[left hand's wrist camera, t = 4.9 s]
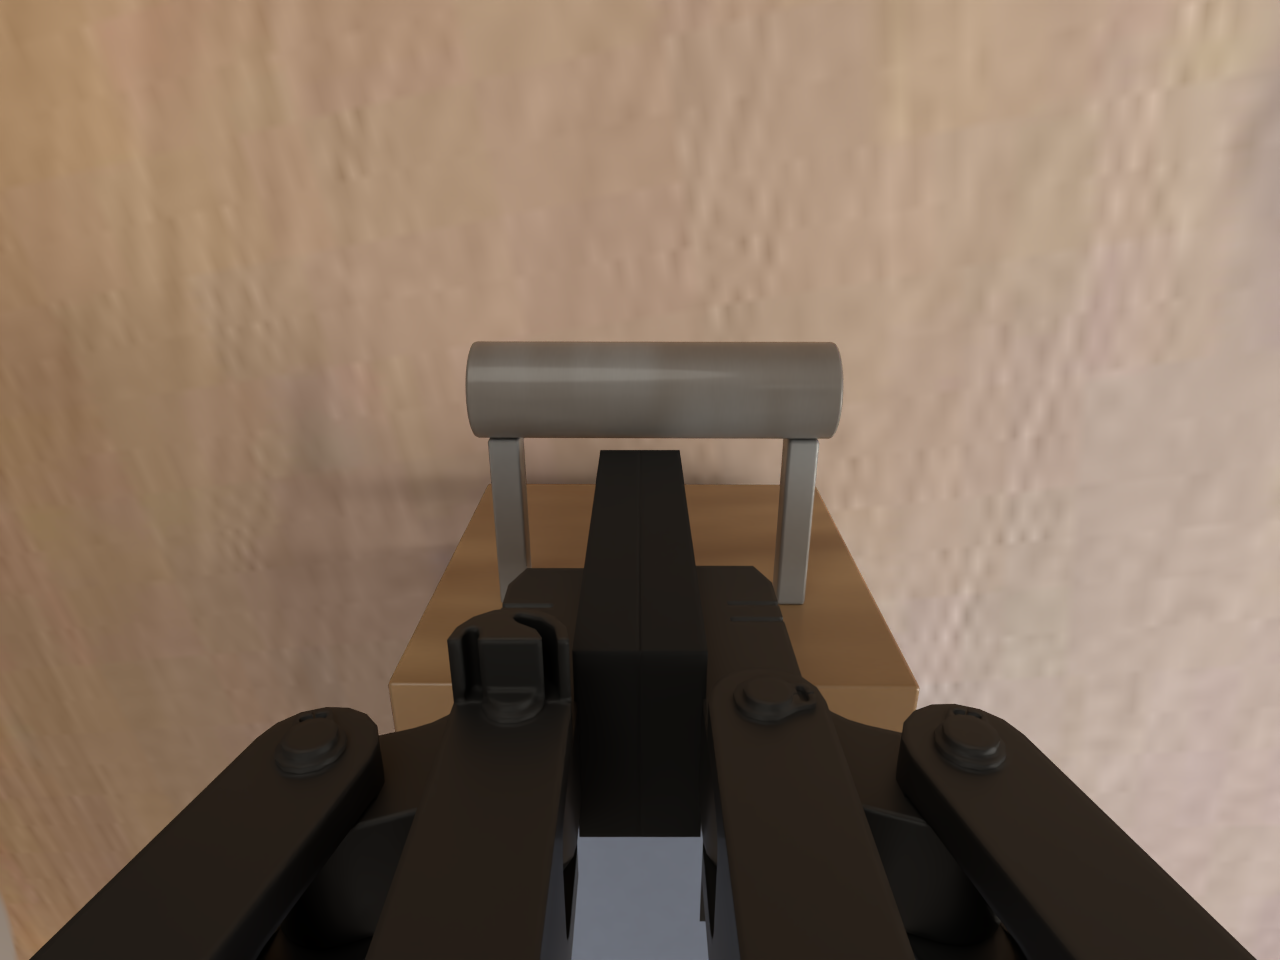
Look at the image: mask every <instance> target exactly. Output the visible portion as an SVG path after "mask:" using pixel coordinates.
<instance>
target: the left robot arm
mask: <svg viewBox="0 0 1280 960" xmlns="http://www.w3.org/2000/svg"><path fill="white" fill-rule="evenodd" d="M447 645H448V654H449V663H450V672H451V682H452V691H453V700H454V703H453V706H452V709H451V712H450V714H449V715H447V716H445V717H443V718H440V719H438V720H436V721H434V722H432V723H429V724H425V725H422V726H419V727H415V728H411V729H407V730H402V731H398V732H393V733H389V734H384V735H380V736H379V735H378V729H377V725H376V724H375V723H374V722H373V721H372V720H371V718H370V717H369V716H368V715H367V714H365V713H362V712H359V711H356V710H354V709H351V708H337V707H325V708H320V709H315V710H310V711H306V712H301V713H299V714H296V715H294V716H292V717H290V718H287V719H285V720H283V721H281V722H278V723H276V724H275V725H274V726H272V727H271V728H270V729H268V730H267V731H266V732H264V733H263V734H262V735H260V736H259V737H258V738H256V739H255V740H254V741H253V742H252V743H251V744H250V745H249V746H248V747H247V748H246V749H245V750H244V751H243V752H242V753H241V754H240V755H239V756H238V757H237V758H236V759H235V760H234V761H233V762H232V763H231V764H230V765H229V766H228V767H227V768H226V769H225V770H224V771H223V772H222V773H220V774H219V775H218V776H217V777H216V778H215V779H214V780H213V781H212V782H211V783H210V784H209V785H208V786H207V787H206V788H205V789H204V790H203V791H202V792H201V793H200V794H199V795H198V796H197V797H196V798H195V799H194V800H193V801H192V802H191V803H190V804H189V805H188V806H187V807H186V808H185V809H184V810H182V811H181V812H180V813H179V814H178V815H177V816H176V817H175V818H174V819H173V820H172V821H171V822H170V823H169V824H168V825H167V826H166V827H165V828H164V829H163V830H162V831H161V832H160V833H159V834H158V835H157V836H156V837H155V838H154V839H153V840H152V841H151V842H150V843H149V844H148V845H147V846H146V847H144V848H143V849H142V850H141V851H140V852H139V853H138V854H137V855H136V856H135V857H134V858H133V859H132V860H131V861H130V862H129V863H128V864H127V865H126V866H125V867H124V868H123V869H122V870H121V871H120V872H119V873H118V874H117V875H116V876H115V877H114V878H113V879H112V880H111V881H110V882H109V883H108V884H106V885H105V886H104V887H103V888H102V889H101V890H100V891H99V892H98V893H97V894H96V895H95V896H94V897H93V898H92V899H91V900H90V901H89V902H88V903H87V904H86V905H85V906H84V907H83V908H82V909H81V910H80V911H79V912H78V913H77V914H76V915H75V916H74V917H73V918H72V919H71V920H70V921H68V922H67V923H66V924H65V925H64V926H63V927H62V928H61V929H60V930H59V931H58V932H57V933H56V934H55V935H54V936H53V937H52V938H51V939H50V940H49V941H48V942H47V943H46V944H45V945H44V946H43V947H42V948H41V949H40V950H39V951H38V952H37V953H36V954H35V955H34V956H33V957H31V958H30V959H29V960H571V959H572V947H573V935H574V923H575V911H576V899H577V887H578V850H577V840H578V829H579V837H701V825H702V836H703V850H702V875H701V899H700V921H705V922H706V934H707V946H708V958H709V960H1256V959H1255V958H1254V957H1253V956H1252V955H1251V954H1250V953H1249V952H1248V951H1247V950H1246V949H1245V948H1244V947H1243V946H1242V945H1241V944H1240V943H1239V942H1238V941H1237V940H1236V939H1235V938H1234V937H1233V936H1232V935H1231V934H1230V933H1229V932H1227V931H1226V930H1225V929H1224V928H1223V927H1222V926H1221V925H1220V924H1219V923H1218V922H1217V921H1216V920H1215V919H1214V918H1213V917H1212V916H1211V915H1210V914H1209V913H1208V912H1207V911H1206V910H1205V909H1204V908H1203V907H1202V906H1201V905H1200V904H1199V903H1197V902H1196V901H1195V900H1194V899H1193V898H1192V897H1191V896H1190V895H1189V894H1188V893H1187V892H1186V891H1185V890H1184V889H1183V888H1182V887H1181V886H1180V885H1179V884H1178V883H1177V882H1176V881H1175V880H1174V879H1173V878H1172V877H1171V876H1170V875H1169V874H1167V873H1166V872H1165V871H1164V870H1163V869H1162V868H1161V867H1160V866H1159V865H1158V864H1157V863H1156V862H1155V861H1154V860H1153V859H1152V858H1151V857H1150V856H1149V855H1148V854H1147V853H1146V852H1145V851H1144V850H1143V849H1142V848H1141V847H1140V846H1139V845H1137V844H1136V843H1135V842H1134V841H1133V840H1132V839H1131V838H1130V837H1129V836H1128V835H1127V834H1126V833H1125V832H1124V831H1123V830H1122V829H1121V828H1120V827H1119V826H1118V825H1117V824H1116V823H1115V822H1114V821H1113V820H1112V819H1111V818H1110V817H1109V816H1107V815H1106V814H1105V813H1104V812H1103V811H1102V810H1101V809H1100V808H1099V807H1098V806H1097V805H1096V804H1095V803H1094V802H1093V801H1092V800H1091V799H1090V798H1089V797H1088V796H1087V795H1086V794H1085V793H1084V792H1083V791H1082V790H1081V789H1080V788H1079V787H1077V786H1076V785H1075V784H1074V783H1073V782H1072V781H1071V780H1070V779H1069V778H1068V777H1067V776H1066V775H1065V774H1064V773H1063V772H1062V771H1061V770H1060V769H1059V768H1058V767H1057V766H1056V765H1055V764H1054V763H1053V762H1052V761H1051V760H1050V759H1049V758H1047V757H1046V756H1045V755H1044V754H1043V753H1042V752H1041V751H1040V750H1039V749H1038V748H1037V747H1036V746H1035V745H1034V744H1033V743H1032V742H1031V741H1030V740H1029V739H1028V738H1027V737H1026V736H1025V735H1024V734H1022V733H1021V732H1020V731H1018V730H1017V729H1016V728H1014V727H1013V726H1011V725H1010V724H1009V723H1007V722H1006V721H1005V720H1003V719H1001V718H999V717H996V716H994V715H992V714H989V713H987V712H985V711H982V710H980V709H976V708H971V707H967V706H962V705H957V704H935V705H929V706H926V707H924V708H921V709H918V710H915V711H913V712H912V714H911V715H910V716H909V717H908V718H907V719H906V720H905V721H904V722H903V729H902V733H901V732H896V731H892V730H887V729H883V728H878V727H874V726H869V725H865V724H862V723H858V722H855V721H852V720H848V719H846V718H844V717H842V716H840V715H838V714H836V713H834V712H832V711H830V710H829V708H828V705H827V702H826V700H825V699H824V697H823V696H822V694H821V693H820V691H819V690H818V688H817V687H816V686H814V685H813V684H811V683H810V682H809V681H807V680H806V679H804V678H803V677H802V675H801V672H800V669H799V666H798V663H797V660H796V657H795V654H794V650H793V647H792V644H791V641H790V638H789V635H788V632H787V628H786V625H785V622H783V616H782V613H781V610H780V607H779V605H778V600H777V597H776V594H775V591H774V588H773V585H772V582H771V581H770V580H769V579H767V578H766V577H765V576H764V575H763V574H762V573H761V572H760V571H759V570H757V569H756V568H755V567H754V566H696V564H695V557H694V549H693V542H692V535H691V528H690V521H689V514H688V507H687V500H686V493H685V486H684V479H683V471H682V464H681V457H680V450H600V457H599V464H598V472H597V479H596V486H595V493H594V500H593V507H592V514H591V521H590V528H589V535H588V542H587V549H586V557H585V564H584V568H527V569H525V570H524V571H523V572H522V573H521V574H520V575H519V576H518V577H516V578H515V579H514V580H513V581H512V582H511V583H510V584H509V585H508V588H507V591H506V594H505V597H504V600H503V603H502V608H501V609H499V610H493V611H489V612H486V613H483V614H480V615H477V616H474V617H472V618H470V619H469V620H467V621H466V622H464V623H462V624H461V625H459V626H458V627H456V629H455V630H454V631H453V633H452V634H451V635H450V636H449V638H448V639H447Z"/></svg>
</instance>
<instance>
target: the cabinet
mask: <svg viewBox="0 0 1280 960" xmlns="http://www.w3.org/2000/svg"><path fill="white" fill-rule="evenodd" d="M577 850H578V887H577V899H576V911H575V923H574V935H573V947H572V959H571V960H709V958H708V946H707V934H706V922H705V921H700V899H701V875H702V850H703V836H702V825H701V837H579V829H578V840H577Z"/></svg>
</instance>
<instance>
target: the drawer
mask: <svg viewBox="0 0 1280 960" xmlns="http://www.w3.org/2000/svg"><path fill="white" fill-rule="evenodd" d="M842 402H843V368H842V361H841V356H840V352H839V349H838V347H837V345H836V344H834V343H832V342H475V343H473V344H472V346H471V348H470V351H469V355H468V360H467V367H466V404H467V412H468V418H469V422H470V426H471V429H472V431H473V433H474V435H475V436H477V437H479V438H490V439H489V441H488V448H489V460H490V473H491V484H489V485H488V487H487V488H486V490H485V492H484V494H483V496H482V498H481V500H480V502H479V504H478V506H477V508H476V510H475V512H474V514H473V516H472V518H471V520H470V522H469V524H468V526H467V528H466V530H465V532H464V534H463V536H462V538H461V540H460V542H459V544H458V546H457V548H456V550H455V552H454V554H453V556H452V558H451V560H450V562H449V564H448V566H447V568H446V570H445V572H444V574H443V576H442V578H441V580H440V582H439V584H438V586H437V588H436V590H435V592H434V594H433V596H432V598H431V600H430V602H429V604H428V606H427V608H426V610H425V612H424V614H423V616H422V618H421V620H420V622H419V624H418V626H417V628H416V630H415V632H414V634H413V636H412V638H411V640H410V642H409V644H408V646H407V648H406V650H405V652H404V654H403V656H402V658H401V660H400V662H399V664H398V666H397V668H396V670H395V672H394V674H393V676H392V678H391V680H390V682H389V684H388V687H389V693H390V700H391V707H392V713H393V720H394V726H395V732H398V731H402V730H407V729H411V728H415V727H419V726H422V725H425V724H429V723H432V722H434V721H436V720H438V719H440V718H443V717H445V716H447V715H449V714H450V712H451V709H452V706H453V703H454V700H453V691H452V682H451V672H450V663H449V654H448V645H447V639H448V638H449V636H450V635H451V634H452V633H453V631H454V630H455V629H456V627H458V626H459V625H461V624H462V623H464V622H466V621H467V620H469V619H470V618H472V617H474V616H477V615H480V614H483V613H486V612H489V611H493V610H499V609H501V608H502V603H503V600H504V597H505V594H506V591H507V588H508V585H509V584H510V583H511V582H512V581H513V580H514V579H515V578H516V577H518V576H519V575H520V574H521V573H522V572H523V571H524V570H525V569H527V568H584V564H585V557H586V549H587V542H588V535H589V528H590V521H591V514H592V507H593V500H594V493H595V486H596V484H526V469H525V453H524V438H771V439H783V452H782V465H781V479H780V485H684V486H685V493H686V500H687V507H688V514H689V521H690V528H691V535H692V542H693V549H694V557H695V564H696V566H754V567H755V568H756V569H757V570H759V571H760V572H761V573H762V574H763V575H764V576H765V577H766V578H767V579H769V580H770V581H771V582H772V585H773V588H774V591H775V594H776V597H777V600H778V605H779V607H780V610H781V613H782V616H783V622H785V625H786V628H787V632H788V635H789V638H790V641H791V644H792V647H793V650H794V654H795V657H796V660H797V663H798V666H799V669H800V672H801V675H802V677H803V678H804V679H806V680H807V681H809V682H810V683H811V684H813V685H814V686H816V687H817V688H818V690H819V691H820V693H821V694H822V696H823V697H824V699H825V700H826V702H827V705H828V708H829V710H830V711H832V712H834V713H836V714H838V715H840V716H842V717H844V718H846V719H848V720H852V721H855V722H858V723H862V724H865V725H869V726H874V727H878V728H883V729H887V730H892V731H896V732H901V733H902V729H903V722H904V721H905V720H906V719H907V718H908V717H909V716H910V715H911V714H912V712H913V711H915V710H916V707H917V701H918V695H919V686H918V684H917V682H916V680H915V678H914V676H913V674H912V672H911V670H910V668H909V666H908V664H907V662H906V660H905V658H904V656H903V655H902V653H901V651H900V649H899V647H898V645H897V643H896V641H895V639H894V637H893V635H892V633H891V631H890V629H889V627H888V626H887V624H886V622H885V620H884V618H883V616H882V614H881V612H880V610H879V608H878V606H877V604H876V602H875V600H874V598H873V597H872V595H871V593H870V591H869V589H868V587H867V585H866V583H865V581H864V579H863V577H862V575H861V573H860V571H859V569H858V568H857V566H856V564H855V562H854V560H853V558H852V556H851V554H850V552H849V550H848V548H847V546H846V544H845V542H844V540H843V539H842V537H841V535H840V533H839V531H838V529H837V527H836V525H835V523H834V521H833V519H832V517H831V515H830V513H829V511H828V510H827V508H826V506H825V504H824V502H823V500H822V498H821V496H820V494H819V492H818V490H817V488H816V486H815V483H816V472H817V462H818V451H819V442H818V440H817V439H829V438H831V437H833V436H834V434H835V432H836V430H837V427H838V424H839V421H840V416H841V410H842Z"/></svg>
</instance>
